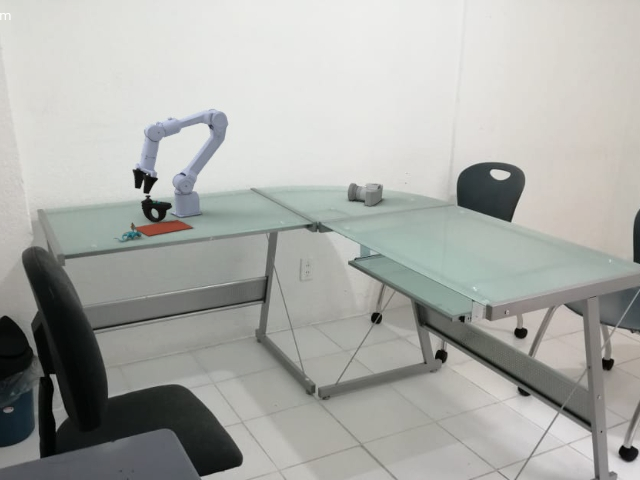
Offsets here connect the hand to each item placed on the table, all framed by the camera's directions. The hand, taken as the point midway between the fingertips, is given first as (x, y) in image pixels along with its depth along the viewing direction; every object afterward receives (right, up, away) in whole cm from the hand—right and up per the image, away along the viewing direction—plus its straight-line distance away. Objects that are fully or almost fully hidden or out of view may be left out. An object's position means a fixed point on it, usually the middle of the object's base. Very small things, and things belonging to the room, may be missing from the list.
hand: (141, 191), depth 234 cm
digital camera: (+92, +2, +37) cm, 99 cm away
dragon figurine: (+1, -21, -20) cm, 29 cm away
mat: (+10, -15, -8) cm, 20 cm away
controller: (+6, -12, 0) cm, 14 cm away
